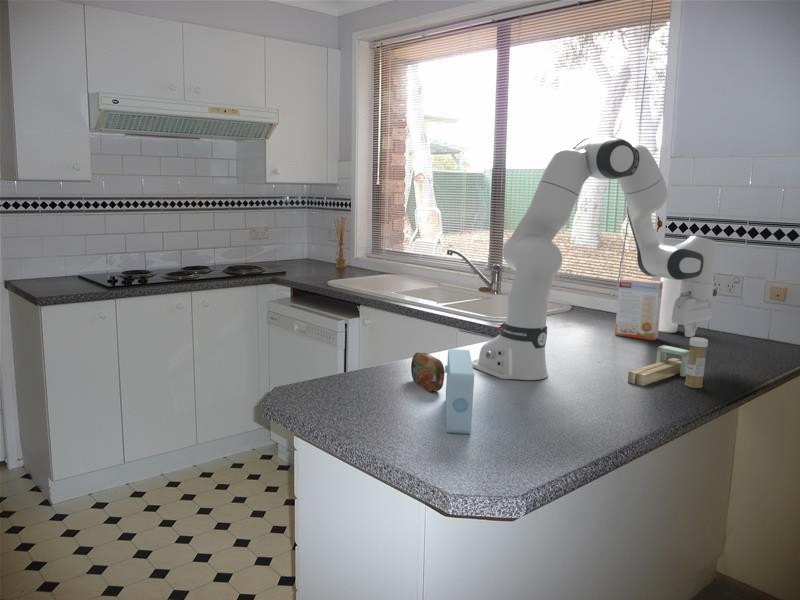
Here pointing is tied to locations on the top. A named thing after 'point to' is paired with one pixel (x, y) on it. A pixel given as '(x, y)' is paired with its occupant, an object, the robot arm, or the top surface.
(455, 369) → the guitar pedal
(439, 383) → the tin
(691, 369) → the sprinkles bottle
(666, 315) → the bottle
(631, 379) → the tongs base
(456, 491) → the top surface
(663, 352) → the sleeve
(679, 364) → the tong arm
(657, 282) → the cracker box
